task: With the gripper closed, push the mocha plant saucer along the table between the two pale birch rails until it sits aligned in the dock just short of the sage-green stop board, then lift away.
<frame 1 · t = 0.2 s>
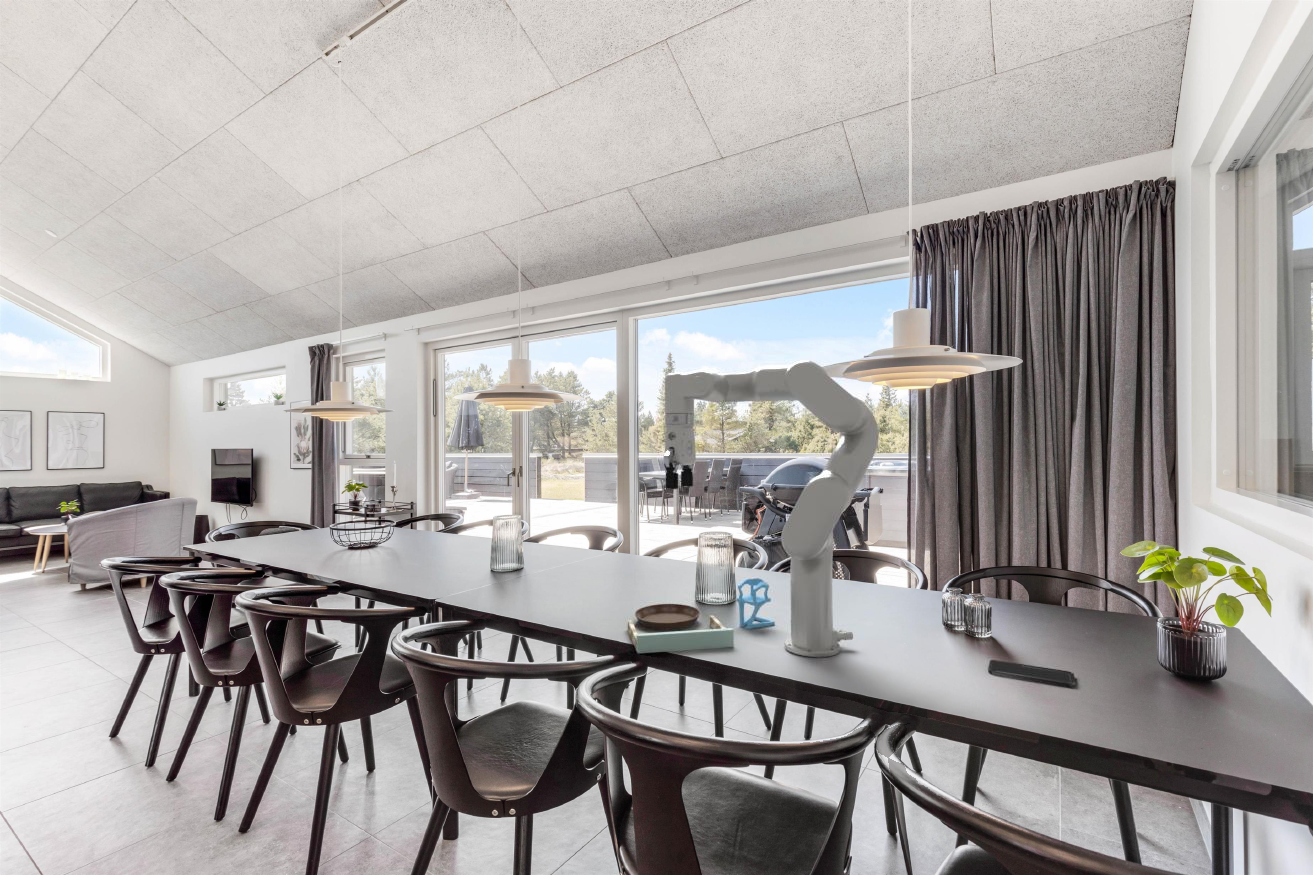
hand: (679, 487, 158), 37 cm above the table, tool pointing down, fingers open, 9 cm apart
chair: (753, 625, 163), on the table
saucer dock: (678, 638, 152), on the table
plant saucer: (667, 624, 166), on the table
phone: (1030, 677, 126), on the table
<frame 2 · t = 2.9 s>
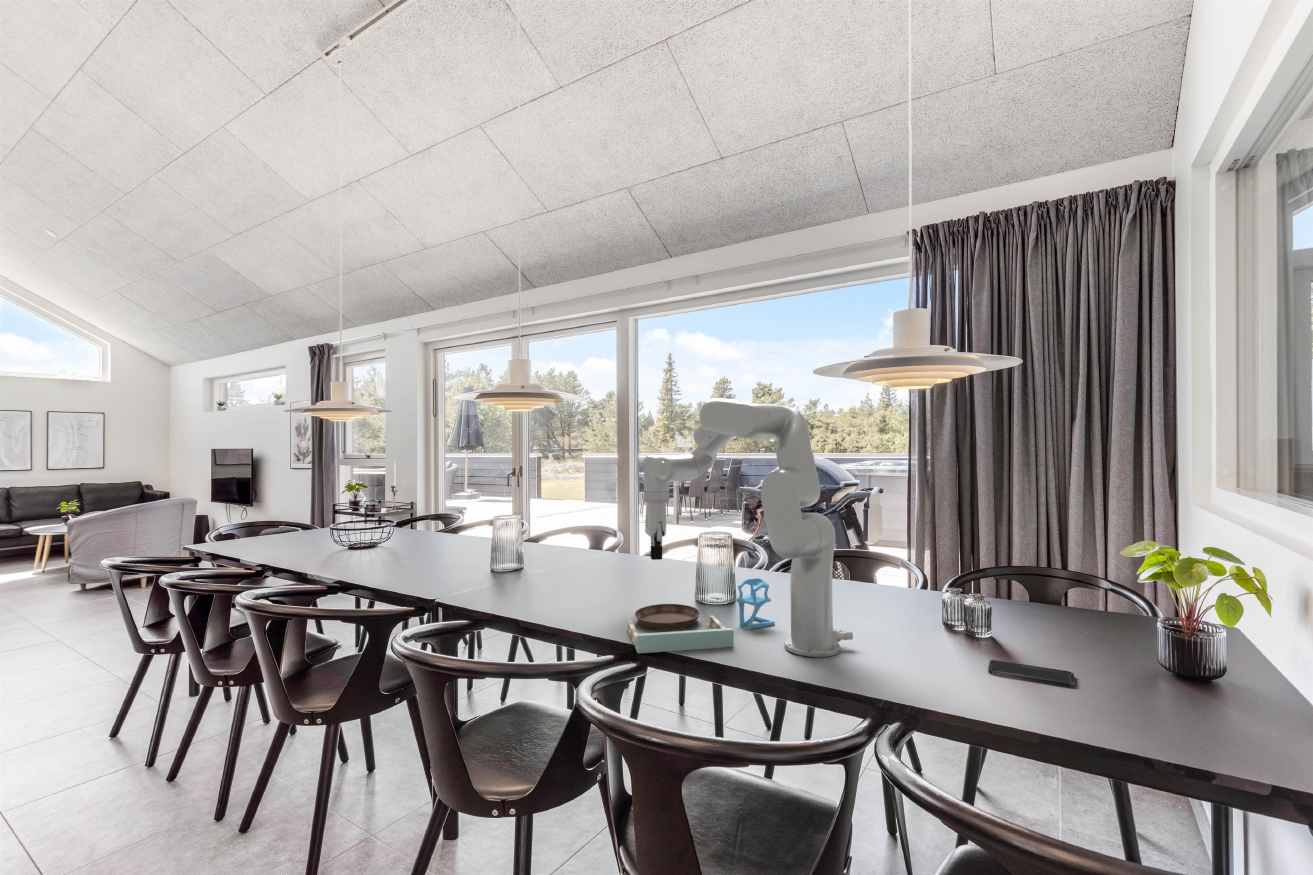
hand: (656, 558, 181), 14 cm above the table, tool pointing down, fingers closed
nothing on the table moved.
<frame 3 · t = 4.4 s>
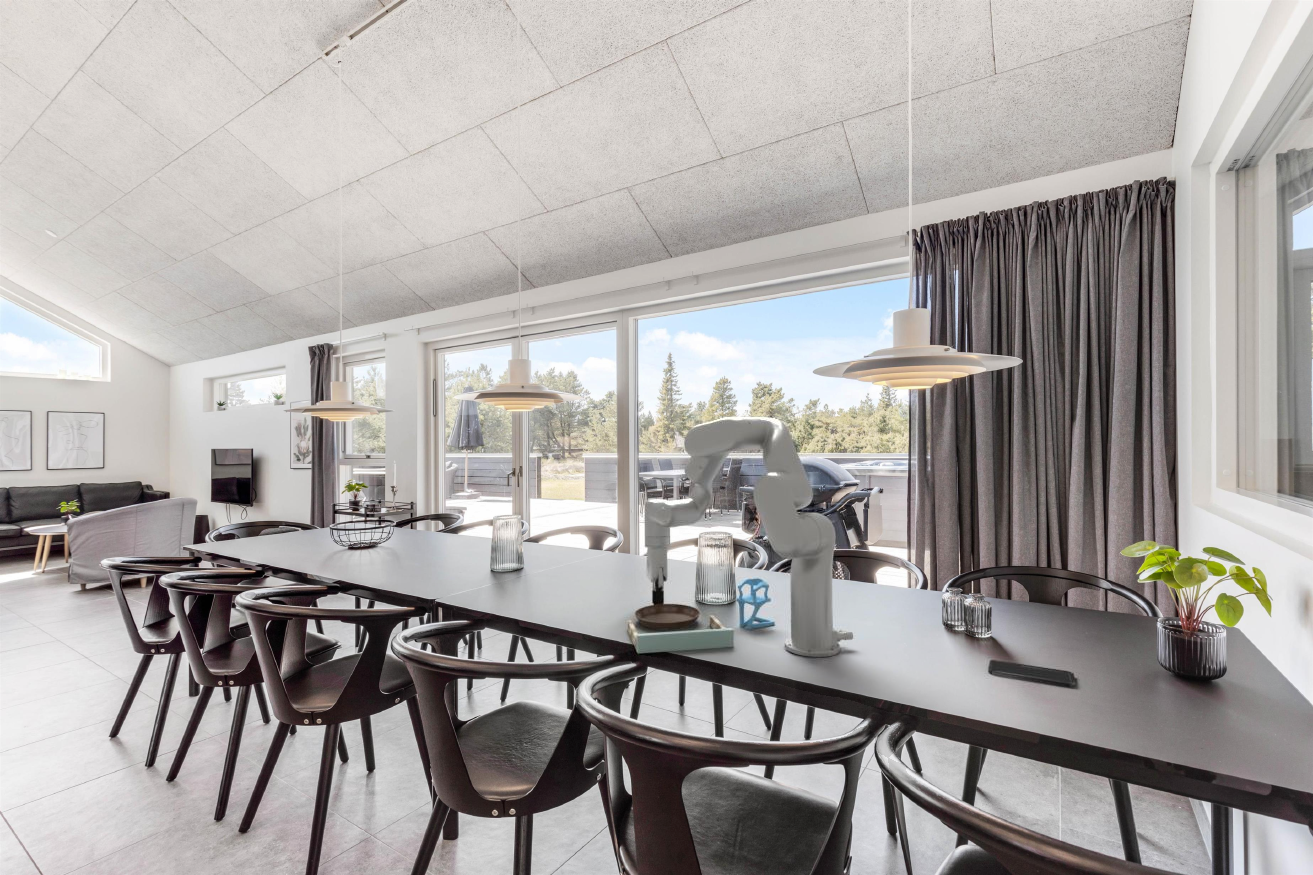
hand: (658, 603, 180), 1 cm above the table, tool pointing down, fingers closed
nothing on the table moved.
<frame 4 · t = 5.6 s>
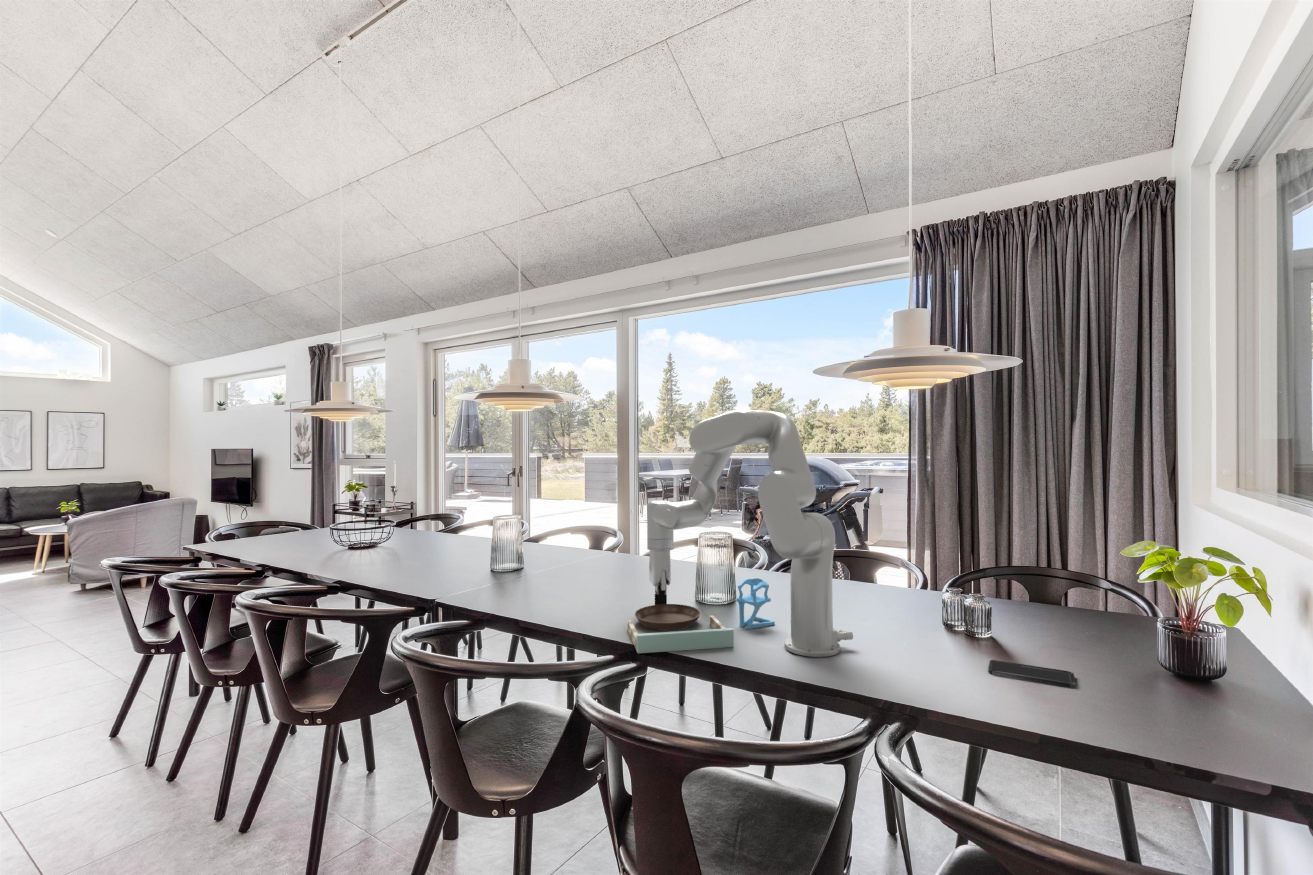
hand: (660, 607, 176), 1 cm above the table, tool pointing down, fingers closed
plant saucer: (667, 624, 165), on the table, touching gripper
everything else where it was.
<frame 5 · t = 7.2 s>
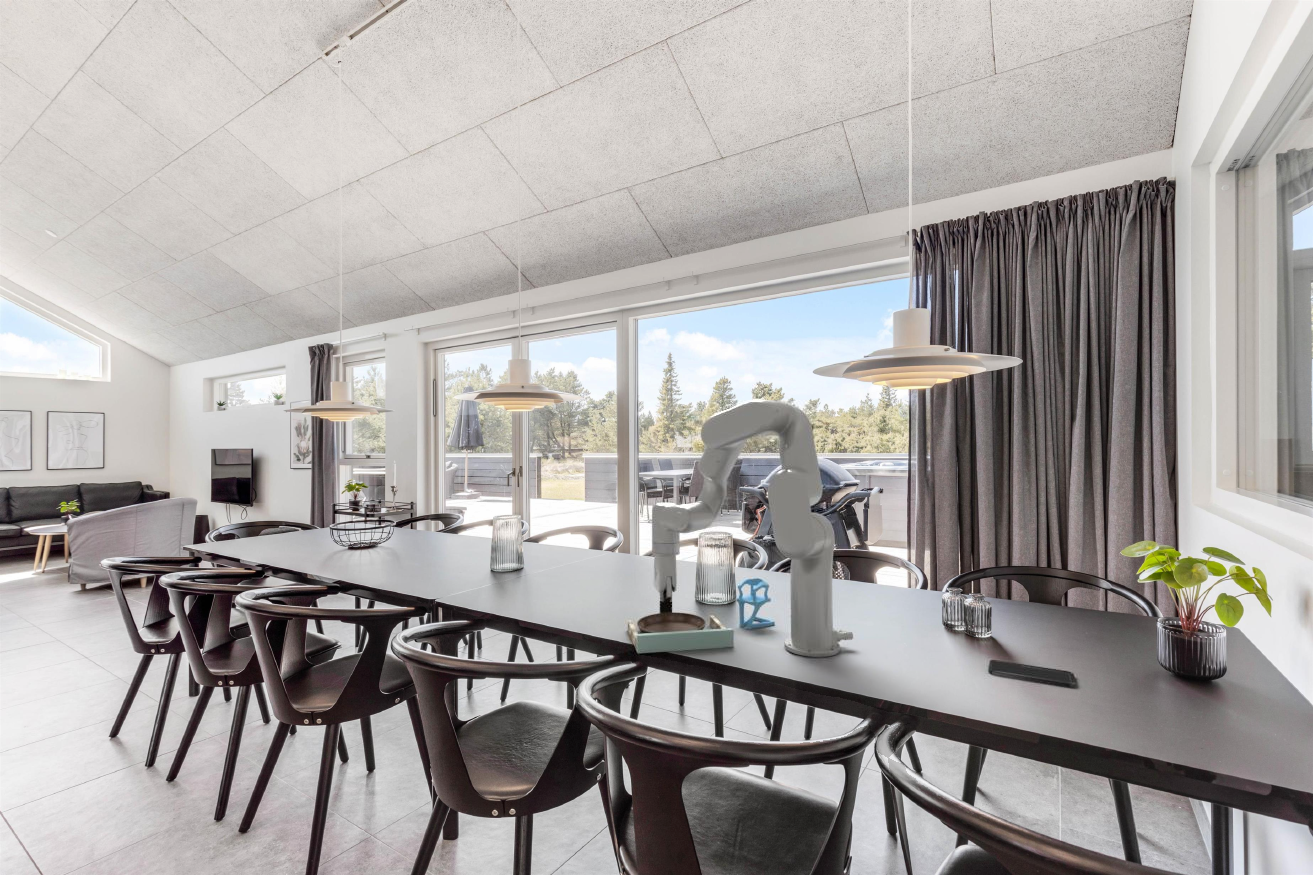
hand: (665, 615, 167), 2 cm above the table, tool pointing down, fingers closed
plant saucer: (671, 634, 157), on the table
everything else where it was.
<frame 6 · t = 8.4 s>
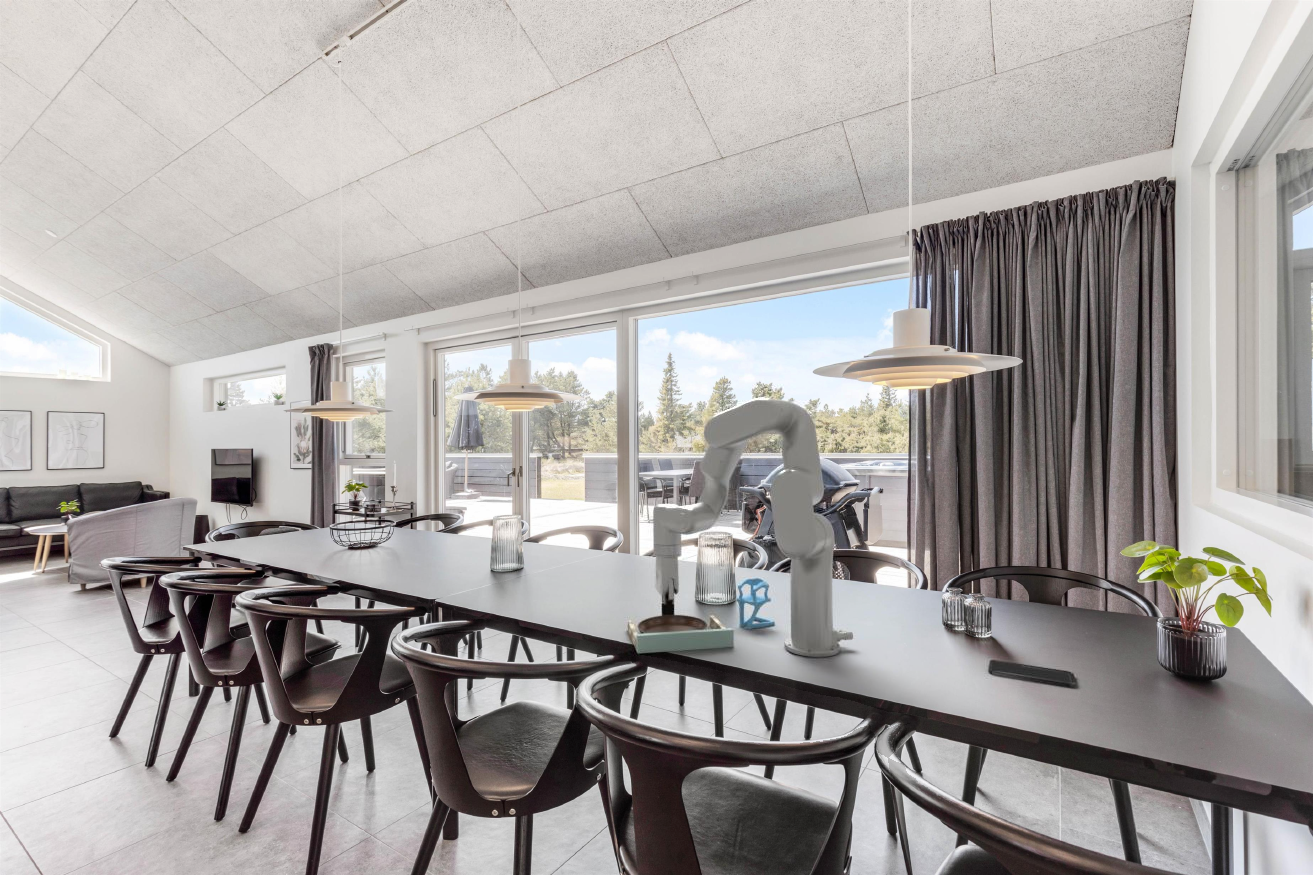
hand: (668, 618, 165), 1 cm above the table, tool pointing down, fingers closed
plant saucer: (672, 637, 155), on the table
everything else where it was.
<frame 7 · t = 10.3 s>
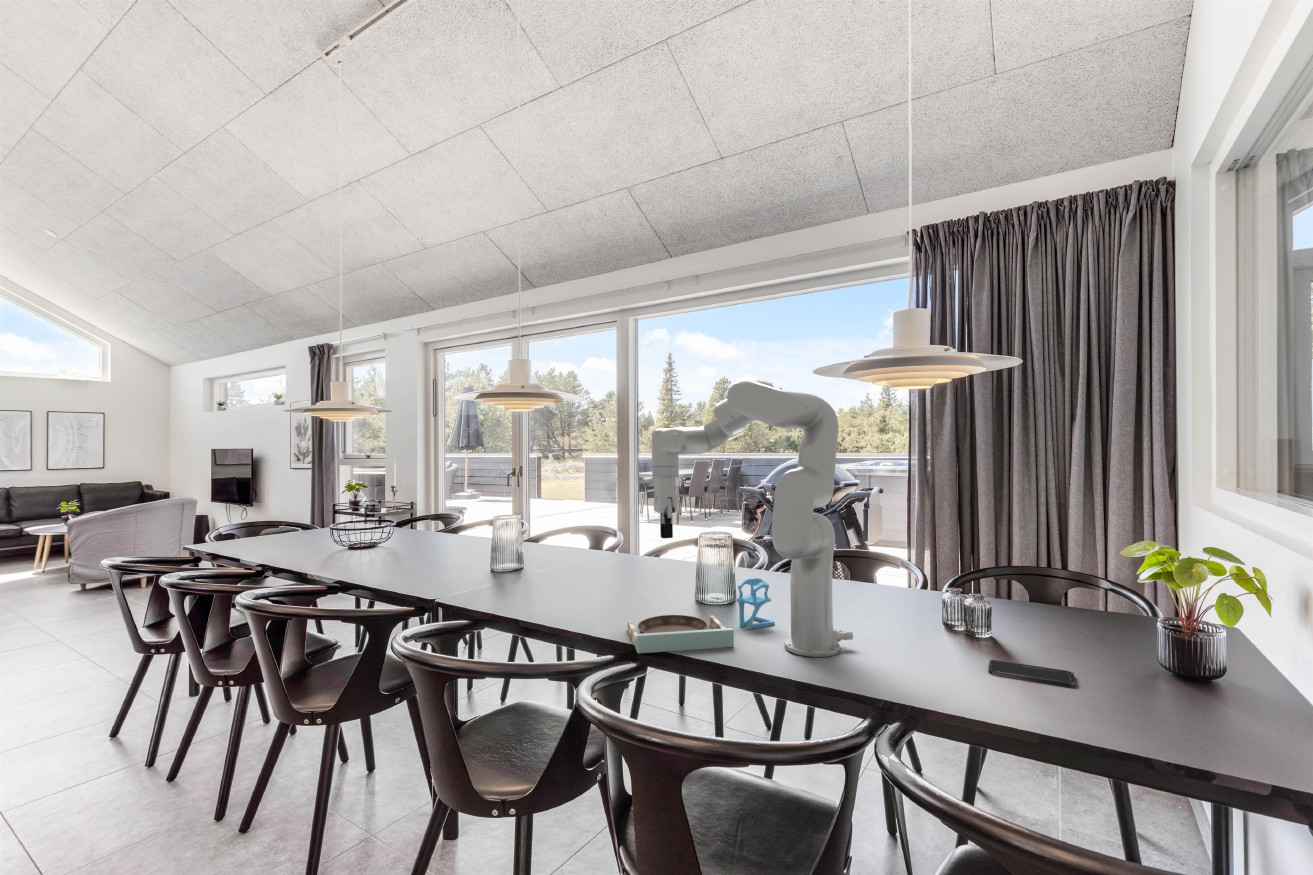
hand: (666, 537, 172), 22 cm above the table, tool pointing down, fingers closed
nothing on the table moved.
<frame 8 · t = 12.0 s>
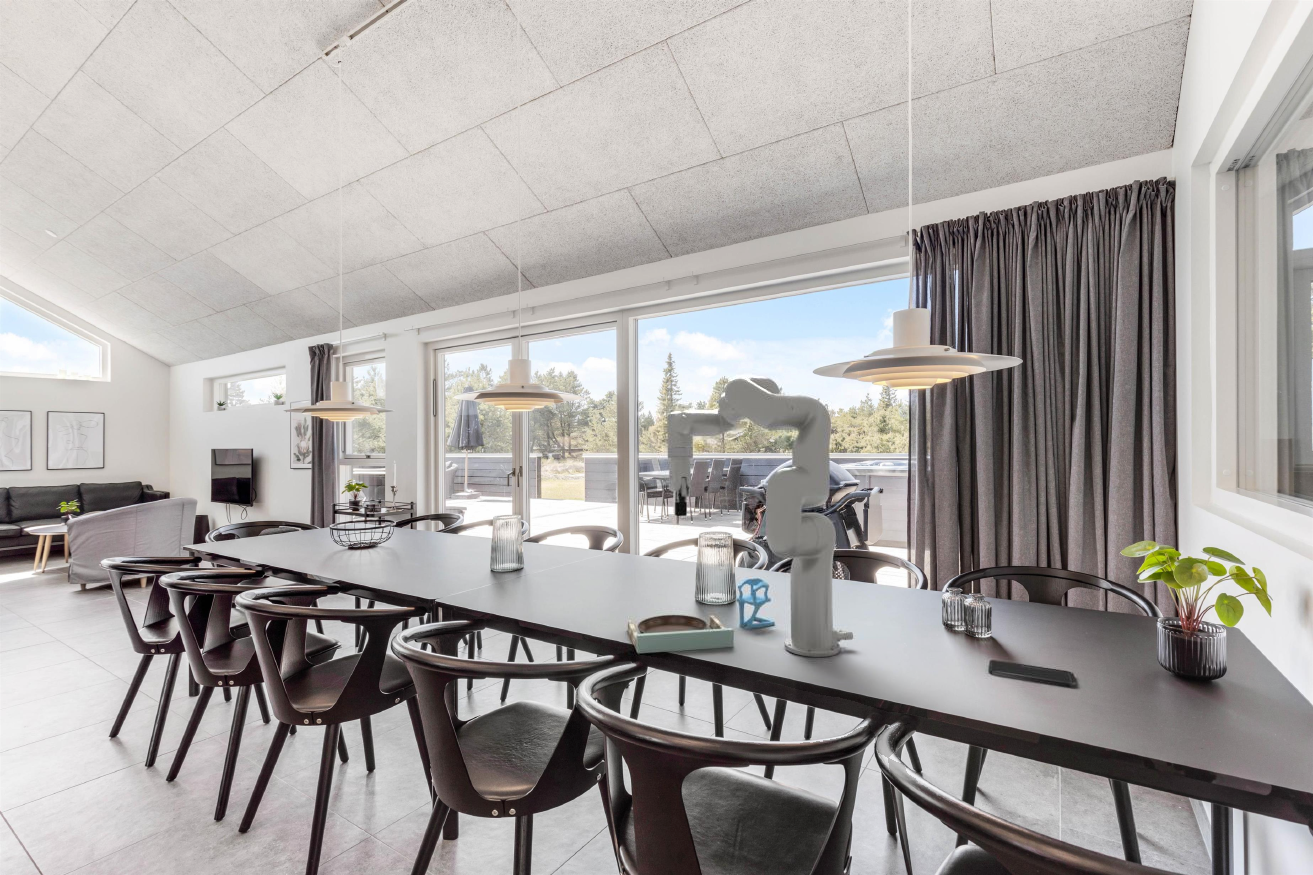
hand: (680, 515, 181), 27 cm above the table, tool pointing down, fingers closed
nothing on the table moved.
at the end: plant saucer 1.1 cm from the target spot on the saucer dock, point -0.5 cm above the saucer dock's base; plant saucer tilted 0° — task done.
